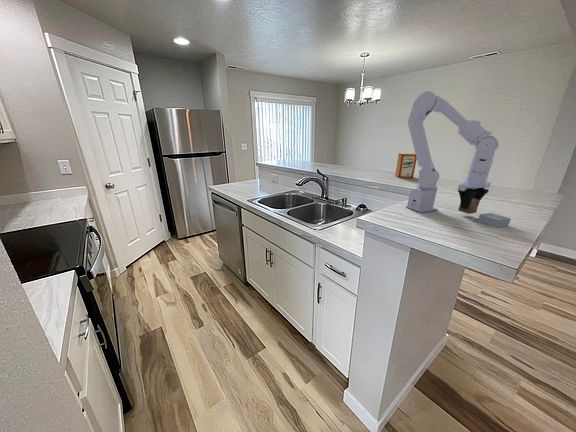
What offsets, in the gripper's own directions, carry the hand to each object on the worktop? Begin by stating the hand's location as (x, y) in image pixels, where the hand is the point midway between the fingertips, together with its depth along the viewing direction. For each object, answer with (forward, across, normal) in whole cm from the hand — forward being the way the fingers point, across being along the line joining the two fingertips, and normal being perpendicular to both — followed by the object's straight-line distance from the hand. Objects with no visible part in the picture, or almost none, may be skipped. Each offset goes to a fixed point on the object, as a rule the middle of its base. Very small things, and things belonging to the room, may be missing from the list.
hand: (468, 207), depth 89 cm
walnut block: (+2, 0, 0) cm, 2 cm away
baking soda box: (+4, +38, +67) cm, 78 cm away
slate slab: (+4, +1, -9) cm, 9 cm away
